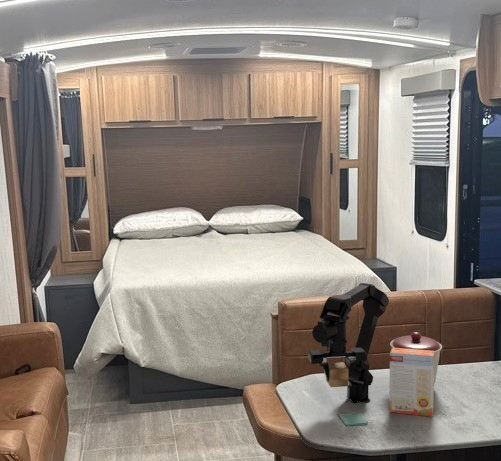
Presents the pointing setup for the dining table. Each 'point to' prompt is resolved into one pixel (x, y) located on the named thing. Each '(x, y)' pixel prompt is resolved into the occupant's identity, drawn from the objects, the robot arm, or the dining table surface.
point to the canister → (419, 346)
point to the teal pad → (353, 419)
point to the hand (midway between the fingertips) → (337, 380)
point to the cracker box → (412, 381)
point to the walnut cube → (338, 375)
